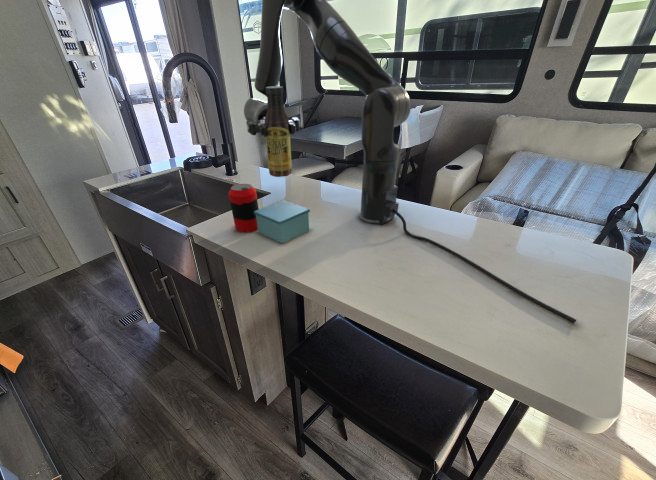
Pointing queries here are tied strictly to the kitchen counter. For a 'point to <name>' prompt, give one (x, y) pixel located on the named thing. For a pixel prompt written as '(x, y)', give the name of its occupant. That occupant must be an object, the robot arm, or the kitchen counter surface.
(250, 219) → the soda can
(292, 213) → the storage box
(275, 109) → the sauce bottle
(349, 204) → the kitchen counter surface
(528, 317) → the kitchen counter surface
